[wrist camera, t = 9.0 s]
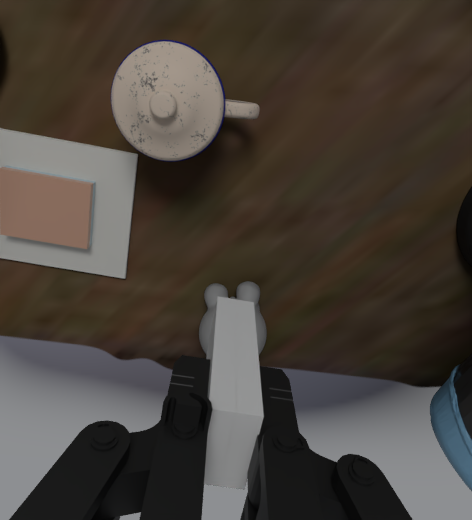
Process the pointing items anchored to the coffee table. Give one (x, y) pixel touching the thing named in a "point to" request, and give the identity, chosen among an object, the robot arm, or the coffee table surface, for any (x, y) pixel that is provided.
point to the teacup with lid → (171, 101)
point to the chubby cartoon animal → (244, 292)
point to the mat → (105, 206)
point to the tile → (46, 207)
